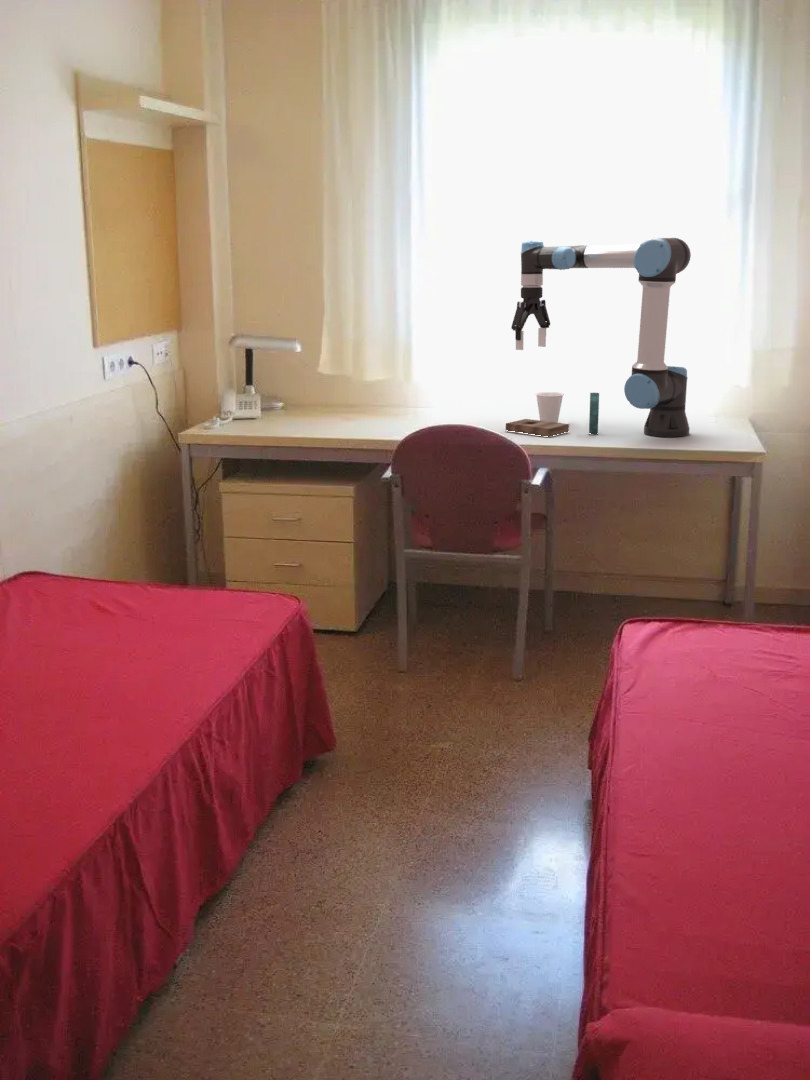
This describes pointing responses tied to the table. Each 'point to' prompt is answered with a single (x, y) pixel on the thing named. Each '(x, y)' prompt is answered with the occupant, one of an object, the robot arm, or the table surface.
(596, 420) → the peg
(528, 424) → the hole plate
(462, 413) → the table surface
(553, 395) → the cup
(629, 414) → the table surface
